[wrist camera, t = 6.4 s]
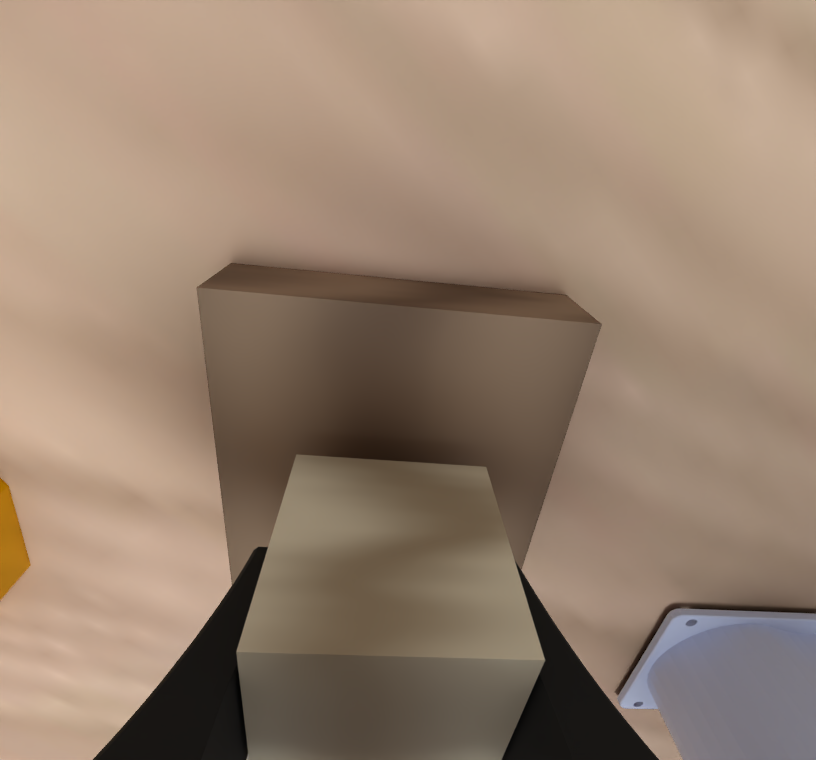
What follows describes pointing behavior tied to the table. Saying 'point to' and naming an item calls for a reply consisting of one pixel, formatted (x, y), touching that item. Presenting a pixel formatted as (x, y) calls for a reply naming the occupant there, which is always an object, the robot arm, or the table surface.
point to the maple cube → (386, 618)
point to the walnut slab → (385, 384)
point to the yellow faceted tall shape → (10, 543)
